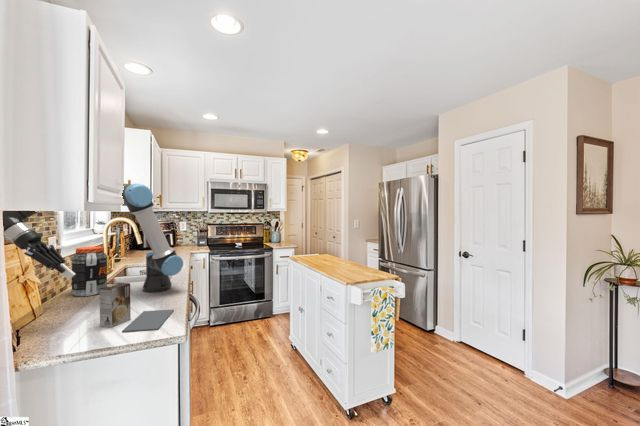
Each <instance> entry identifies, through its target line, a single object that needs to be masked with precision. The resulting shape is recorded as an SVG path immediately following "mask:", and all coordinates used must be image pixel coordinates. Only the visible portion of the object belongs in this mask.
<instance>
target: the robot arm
mask: <svg viewBox="0 0 640 426" xmlns="http://www.w3.org/2000/svg"><path fill="white" fill-rule="evenodd" d="M123 186H124V190H123V193H122V196H123V199H124V204H123V205H122V206H123V207H124V206H125V207H127V209H128V211H129V213H130V214H132V215H134V216H135V218H136V220H137V222H138V224H139V226H140V228H141V230H142V232H143V234H144V236H145V238H146V241H147V242H148V245H149V247H150V249H151V251H148V252H146V255H145V269H146V270H145V272H146V273H145V274H146V277H145V280H144V283H143V285H142V291H143V292H146V293H157V292H163V291H167V290H171V288H172V281H171V278H170V277H172V276H175V275H178V274H179V273H180V272H181V271H182V269H183V266H184V261H183V258H182V257H181V256H180V255H177V252H176V250H175V248H174V247H171V246H170V244H169V242H168V240H167V237H166V236H165V233H164V232H163V230H162V227H161V224H160V222H159V220H158V218H157V216H156V214H155V211H154V210H153V208H154V206H155V205H154V202H153V198H154V195H153V192H152V190H151V188H149V186H146V185H144V184H140V183H133V184H132V183H130V184H124V185H123ZM38 213H39V212H35V211H4V212H3V226H4V235H3V236H4V237H6V238H7V240H9V241H10V242H12V243H13V244H14V245H15V246H16V247H17V248H18V249H20V250H22V251H23V250H26V251H25V252H24V253H23V254H24V255H25V256H28V257H30V258H31V259H33V260H34V261H36V262H37V263H39V264H41V265H42V266H44V267H46V268H48V269H50V270H51V271H54V270H56V271H57V272H58V273H60V275H62V276H63V277H65V279H66V280H72V277H73V276H74V275H75V273H74V272H73V271H72V268H71V269H70V268H69V267H68V266H67V265H66V264H65V263H66V260H65V258H63V256H62V255H61V254H60V253H59V252H58V251H57V249H55V246H54V245H53V244H50V245H47V244H46V243H44V242H43V241H42V238H43V237H42V235H40V233H38V232H37V231H35V230H34V228H32V227H31V226H30V225H29V224H28V223H26V222H25V221H24V220H26V219H28V218H30V217H32V216H34V215H36V214H38Z"/></svg>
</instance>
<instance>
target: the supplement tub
mask: <svg viewBox="0 0 640 426" xmlns="http://www.w3.org/2000/svg"><path fill="white" fill-rule="evenodd" d="M104 251H105V249H104V246H100V245H99V246H98V245H97V246H95V245H94V246H82V247H76V248H75V254H74V255H73V257H72V258H71V270H72V271H73V272H74V273H75V275H74V276H73V277H72V278H71V294H72V295H73V296H75V297H88V296H89V297H90V296H95V295H100V289H99V288H101V287H105V286H108V255H107V254H106V253H105V252H104Z"/></svg>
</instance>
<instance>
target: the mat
mask: <svg viewBox="0 0 640 426" xmlns="http://www.w3.org/2000/svg"><path fill="white" fill-rule="evenodd" d="M174 311H175V310H174V308H173V309H159V310H143V311H142V312H141V313H140V314H139V315H138V316H137V317H136V318H134V319H133V320H132V321H131V322H130V323H129V324H128V325H127V326H126V327H124V329H122V330H121V332H122V333H133V332H146V331H158V330H160V328H162V326H163V325H164V323H165V322H166V321H167V320H168V319H169V317H170V316H171V315H172V313H174Z"/></svg>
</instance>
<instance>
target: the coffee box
mask: <svg viewBox="0 0 640 426" xmlns="http://www.w3.org/2000/svg"><path fill="white" fill-rule="evenodd" d="M99 289H100V294H99V326H100V327H104V328H105V327H106V328H114V327H116V326H119V325H121V324H123V323H124V322H127V321H129V320H131V317H132V316H131V283H129V282H117V283H112V284H107V286H105V287H101V288H99Z"/></svg>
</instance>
